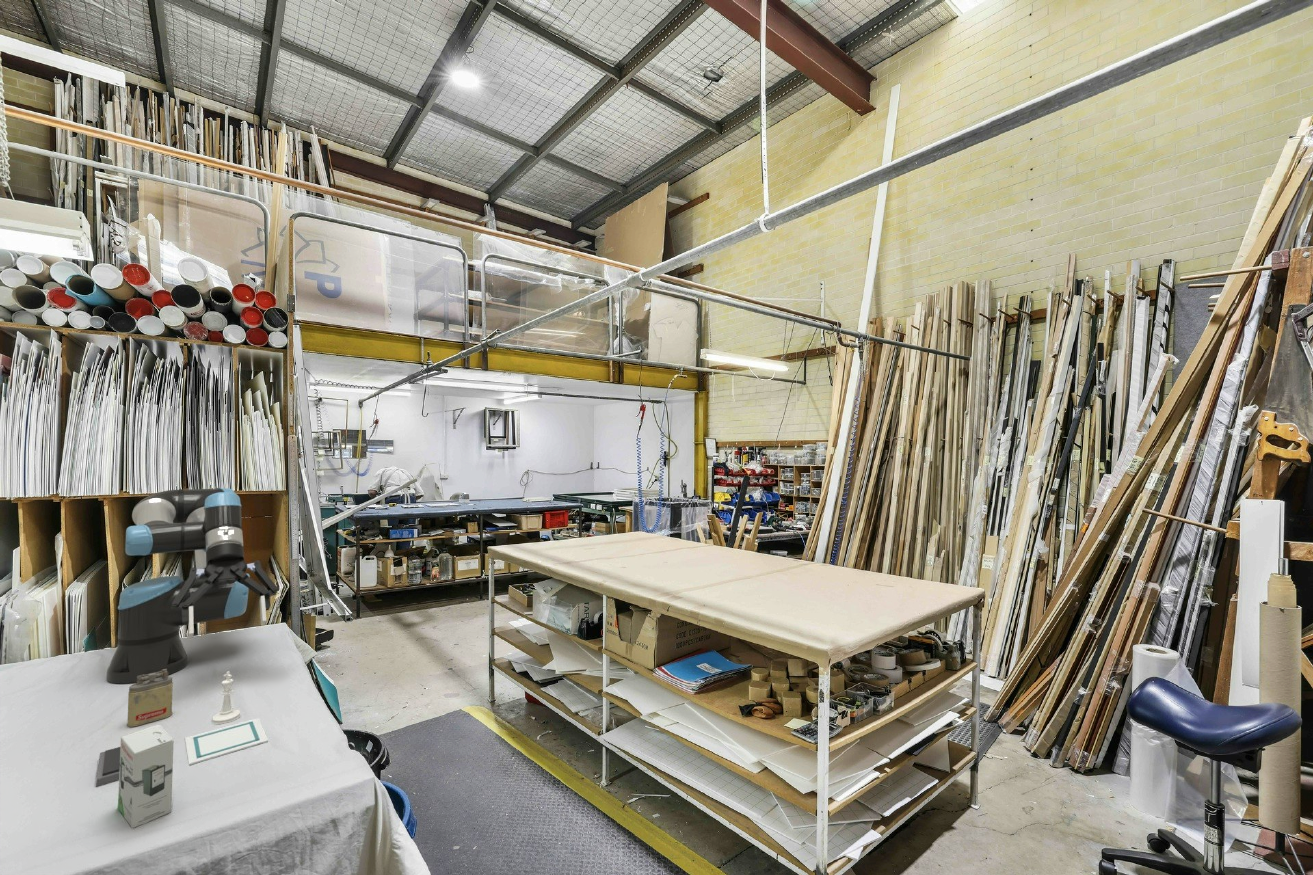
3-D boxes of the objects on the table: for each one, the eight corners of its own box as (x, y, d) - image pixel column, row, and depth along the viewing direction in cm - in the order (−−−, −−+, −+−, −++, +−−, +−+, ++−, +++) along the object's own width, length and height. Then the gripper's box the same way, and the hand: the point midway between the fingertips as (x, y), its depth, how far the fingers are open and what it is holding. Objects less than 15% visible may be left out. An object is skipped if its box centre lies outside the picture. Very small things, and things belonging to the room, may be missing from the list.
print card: (184, 739, 109) (185, 737, 109) (258, 719, 117) (258, 717, 117) (188, 765, 100) (188, 763, 100) (268, 741, 108) (268, 739, 108)
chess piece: (224, 725, 114) (225, 677, 114) (205, 722, 115) (207, 675, 115) (246, 714, 119) (247, 668, 119) (228, 711, 120) (229, 666, 120)
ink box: (116, 808, 88) (118, 734, 88) (156, 792, 92) (158, 722, 92) (131, 829, 83) (133, 752, 84) (173, 811, 87) (175, 738, 88)
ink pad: (99, 759, 101) (99, 750, 101) (157, 743, 107) (157, 735, 107) (96, 786, 93) (96, 777, 93) (159, 767, 99) (159, 759, 99)
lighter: (128, 729, 112) (129, 680, 112) (125, 722, 114) (127, 675, 115) (173, 716, 117) (175, 670, 118) (170, 710, 120) (171, 665, 120)
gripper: (159, 547, 127) (158, 634, 118) (286, 536, 144) (293, 612, 135) (157, 562, 131) (156, 647, 122) (281, 549, 148) (288, 623, 139)
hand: (228, 629), depth 128 cm, fingers open, 13 cm apart
